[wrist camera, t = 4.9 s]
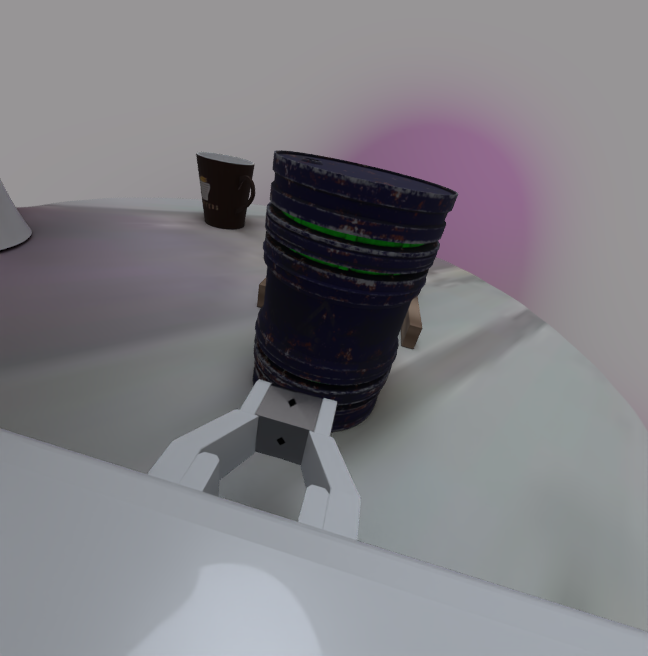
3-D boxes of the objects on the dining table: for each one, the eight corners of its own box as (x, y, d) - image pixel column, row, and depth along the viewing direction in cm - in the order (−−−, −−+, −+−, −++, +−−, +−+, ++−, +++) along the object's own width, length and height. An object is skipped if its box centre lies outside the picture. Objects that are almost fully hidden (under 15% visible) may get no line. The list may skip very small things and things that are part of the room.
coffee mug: (197, 213, 55) (196, 149, 50) (247, 218, 58) (250, 159, 53) (197, 234, 46) (196, 159, 41) (256, 239, 49) (261, 170, 44)
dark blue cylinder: (367, 351, 29) (424, 177, 21) (390, 439, 21) (500, 209, 13) (259, 336, 27) (278, 146, 20) (239, 426, 19) (257, 157, 11)
